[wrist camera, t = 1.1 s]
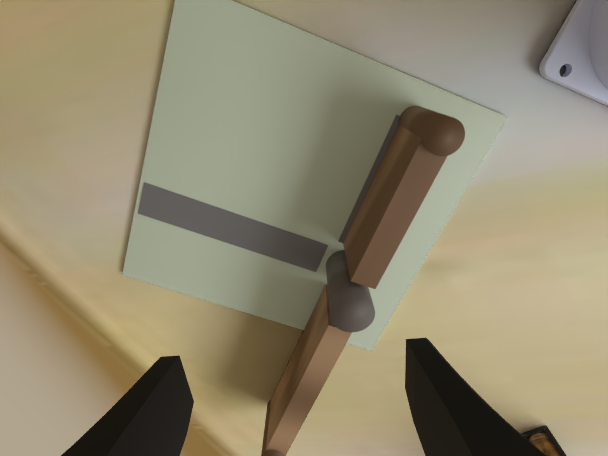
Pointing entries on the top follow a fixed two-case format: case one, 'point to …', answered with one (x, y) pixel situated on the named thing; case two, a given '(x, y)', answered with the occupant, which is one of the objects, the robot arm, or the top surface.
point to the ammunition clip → (544, 441)
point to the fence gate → (303, 378)
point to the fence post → (388, 212)
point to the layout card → (279, 164)
